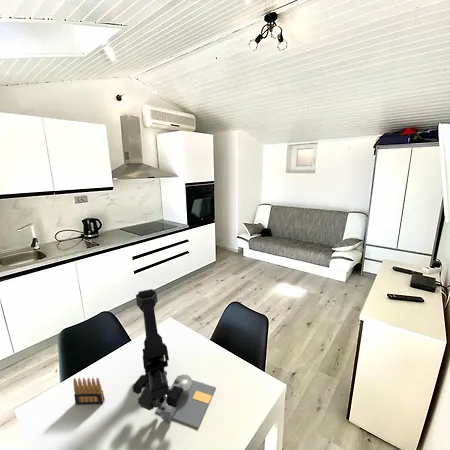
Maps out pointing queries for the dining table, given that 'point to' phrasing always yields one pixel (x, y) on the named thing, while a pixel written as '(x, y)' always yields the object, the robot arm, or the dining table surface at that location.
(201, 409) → the base
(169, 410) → the elbow
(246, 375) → the dining table surface
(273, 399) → the dining table surface
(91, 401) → the ammunition clip
